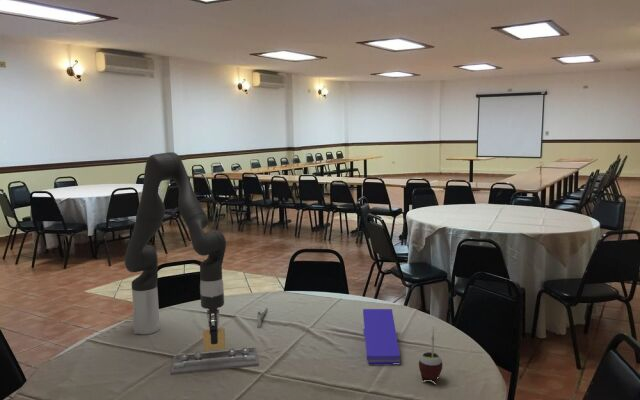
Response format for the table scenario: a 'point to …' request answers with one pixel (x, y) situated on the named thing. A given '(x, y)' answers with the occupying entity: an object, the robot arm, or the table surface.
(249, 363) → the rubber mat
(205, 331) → the tall wooden block
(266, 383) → the table surface
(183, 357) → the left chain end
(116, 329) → the table surface
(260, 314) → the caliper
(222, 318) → the table surface
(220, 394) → the table surface
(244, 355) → the grey studded track end
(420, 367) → the mate gourd
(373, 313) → the stapler
